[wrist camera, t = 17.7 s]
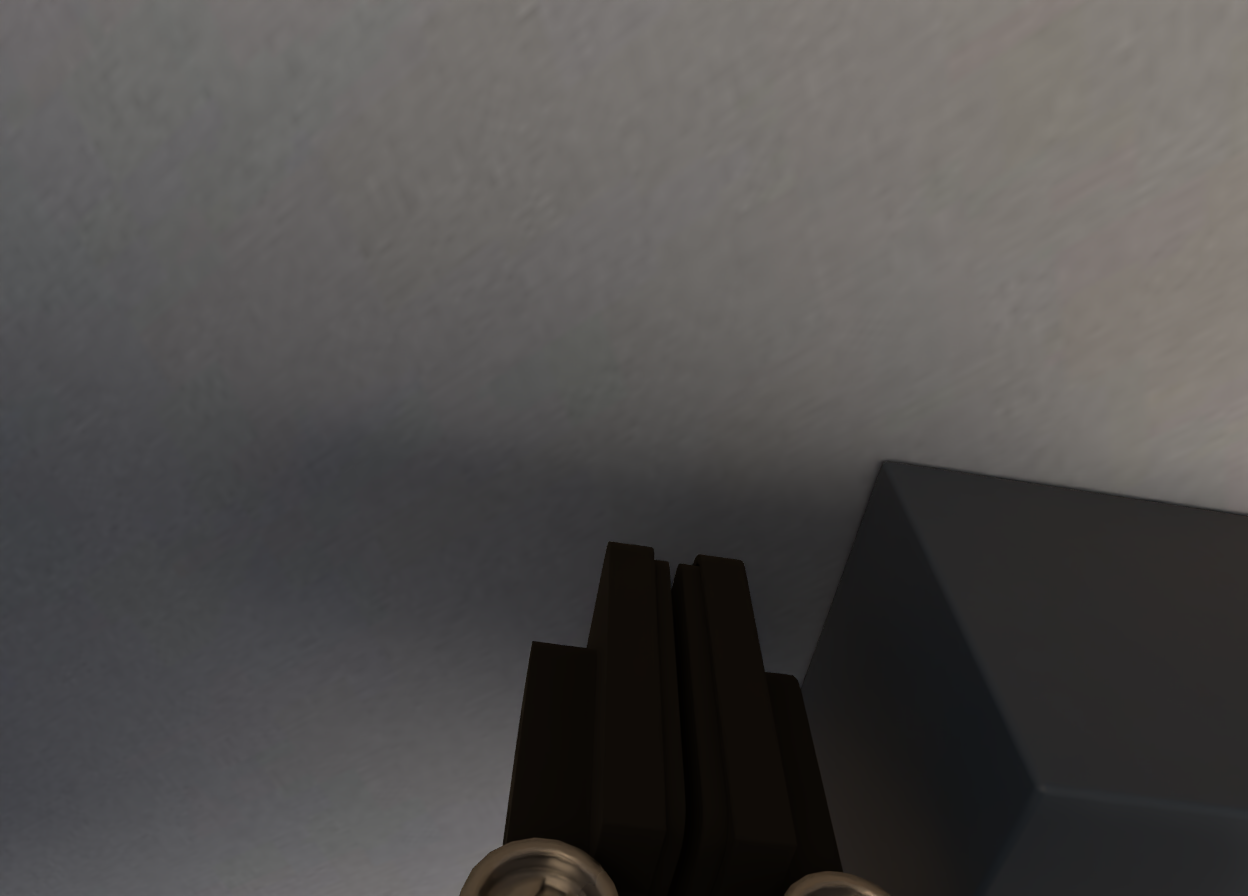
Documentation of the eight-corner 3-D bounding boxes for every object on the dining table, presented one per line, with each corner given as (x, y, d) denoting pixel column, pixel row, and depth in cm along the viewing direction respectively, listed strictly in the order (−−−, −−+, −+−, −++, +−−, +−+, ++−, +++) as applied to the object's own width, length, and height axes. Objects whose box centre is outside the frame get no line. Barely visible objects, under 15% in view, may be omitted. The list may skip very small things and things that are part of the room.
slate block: (780, 740, 14) (850, 1115, 9) (882, 458, 11) (1039, 787, 7) (1093, 780, 14) (1300, 1158, 10) (1258, 515, 12) (1630, 862, 7)
